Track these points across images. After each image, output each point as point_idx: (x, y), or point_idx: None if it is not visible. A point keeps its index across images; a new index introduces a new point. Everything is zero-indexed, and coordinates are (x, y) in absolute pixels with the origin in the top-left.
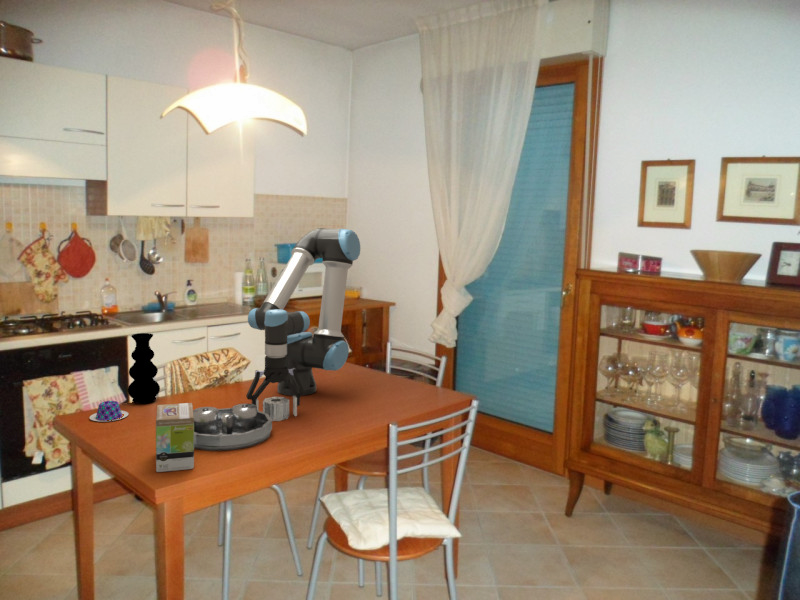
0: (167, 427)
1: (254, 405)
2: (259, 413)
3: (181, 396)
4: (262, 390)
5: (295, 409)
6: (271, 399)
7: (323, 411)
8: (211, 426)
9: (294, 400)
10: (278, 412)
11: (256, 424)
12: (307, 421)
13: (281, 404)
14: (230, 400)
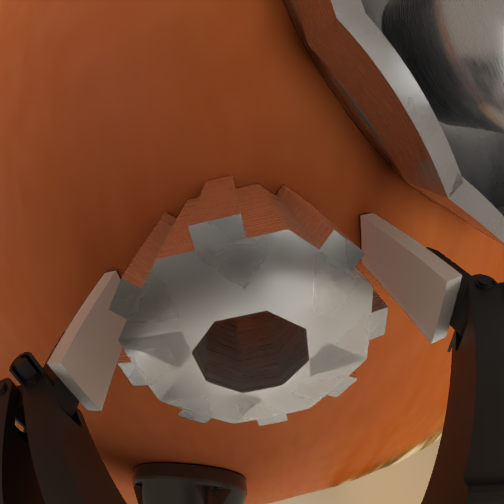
0: None
1: (501, 40)
2: (409, 79)
3: None
4: (485, 380)
5: (95, 296)
6: (300, 373)
7: (21, 329)
8: None
9: (78, 351)
10: (219, 192)
11: (385, 15)
12: (36, 172)
13: (179, 246)
14: (392, 422)
